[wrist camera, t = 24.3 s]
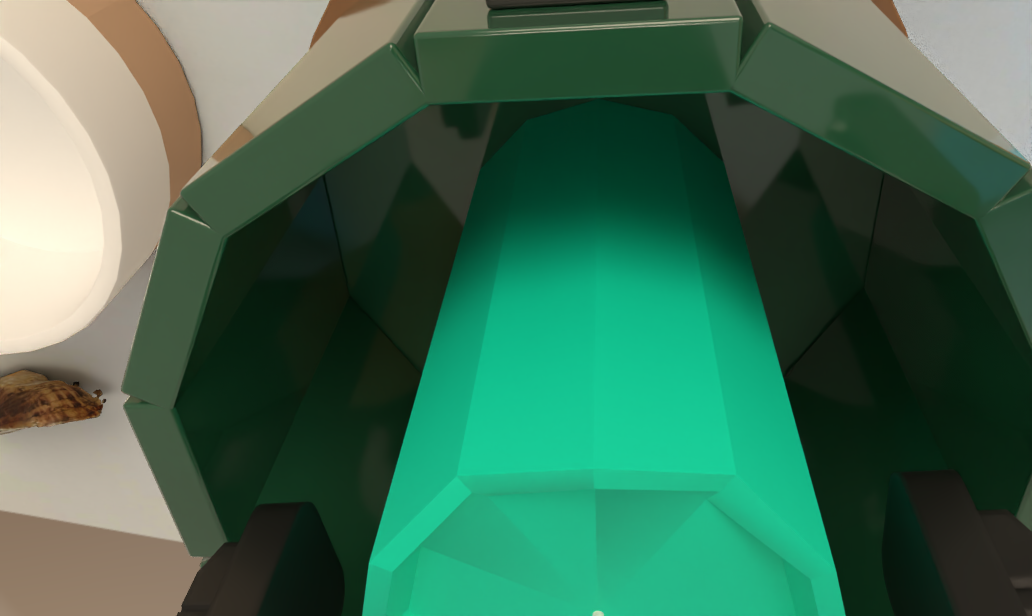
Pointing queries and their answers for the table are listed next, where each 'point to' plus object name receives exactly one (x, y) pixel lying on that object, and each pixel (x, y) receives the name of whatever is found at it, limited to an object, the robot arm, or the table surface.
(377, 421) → the pot
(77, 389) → the oyster shell
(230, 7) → the table surface
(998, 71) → the table surface
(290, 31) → the table surface
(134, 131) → the bowl
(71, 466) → the table surface
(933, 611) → the robot arm
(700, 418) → the candle
